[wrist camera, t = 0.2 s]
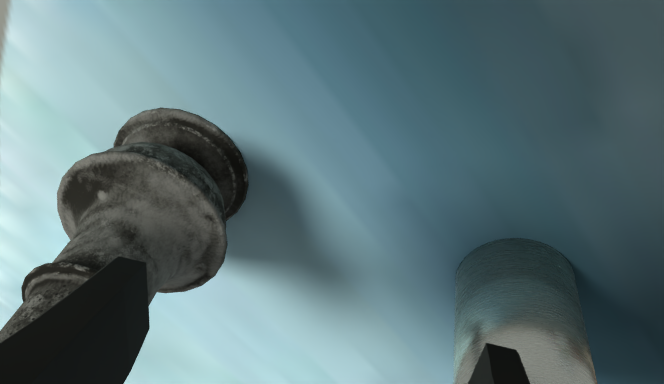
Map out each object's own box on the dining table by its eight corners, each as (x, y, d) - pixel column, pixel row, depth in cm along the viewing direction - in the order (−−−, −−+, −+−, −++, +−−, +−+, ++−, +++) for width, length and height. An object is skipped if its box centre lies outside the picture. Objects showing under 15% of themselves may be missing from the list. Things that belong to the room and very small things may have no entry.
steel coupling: (572, 323, 24) (605, 492, 19) (459, 323, 25) (457, 482, 20) (576, 236, 22) (614, 399, 16) (451, 240, 23) (446, 394, 17)
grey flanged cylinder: (252, 244, 25) (116, 555, 15) (114, 214, 25) (-105, 498, 15) (260, 118, 21) (89, 416, 12) (99, 86, 22) (-195, 348, 12)
